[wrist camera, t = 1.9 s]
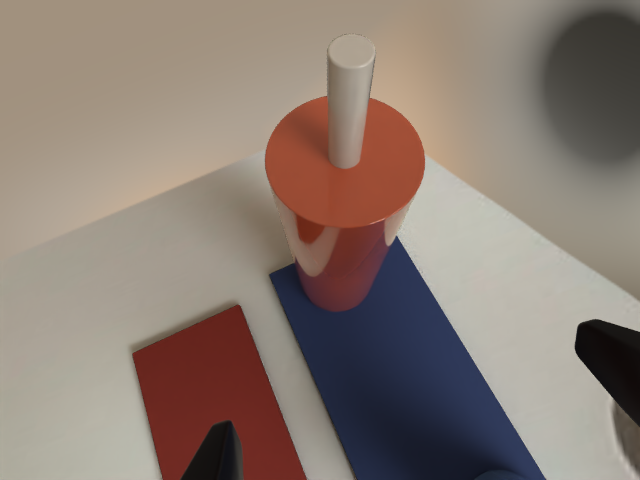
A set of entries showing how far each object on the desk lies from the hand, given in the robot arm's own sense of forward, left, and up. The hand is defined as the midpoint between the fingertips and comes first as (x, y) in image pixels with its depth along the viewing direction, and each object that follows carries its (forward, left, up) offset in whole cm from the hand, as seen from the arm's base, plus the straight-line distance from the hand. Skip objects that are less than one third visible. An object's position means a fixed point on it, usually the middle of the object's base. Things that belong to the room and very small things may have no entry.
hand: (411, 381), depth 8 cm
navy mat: (-2, -2, -13) cm, 13 cm away
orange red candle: (+6, -1, -12) cm, 14 cm away
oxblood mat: (0, +9, -13) cm, 15 cm away
